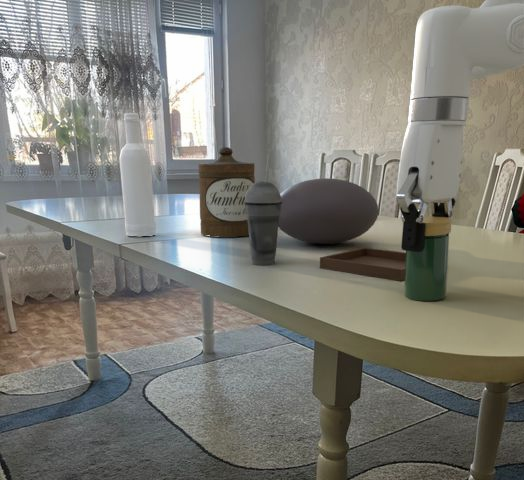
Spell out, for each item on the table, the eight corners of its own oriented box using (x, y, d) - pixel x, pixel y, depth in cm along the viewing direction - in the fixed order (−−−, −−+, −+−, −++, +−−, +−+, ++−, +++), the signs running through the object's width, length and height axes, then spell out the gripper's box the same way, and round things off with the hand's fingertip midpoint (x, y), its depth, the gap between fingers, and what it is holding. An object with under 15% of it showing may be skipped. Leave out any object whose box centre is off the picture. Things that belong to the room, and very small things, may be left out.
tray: (441, 267, 102) (442, 257, 101) (401, 281, 92) (402, 269, 91) (363, 257, 113) (364, 247, 112) (319, 267, 103) (319, 257, 102)
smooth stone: (377, 253, 117) (382, 181, 112) (263, 250, 121) (263, 180, 116) (375, 236, 140) (379, 176, 135) (280, 234, 144) (280, 176, 139)
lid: (418, 228, 83) (419, 216, 82) (459, 230, 78) (460, 217, 78) (395, 234, 79) (396, 222, 78) (437, 237, 74) (437, 223, 74)
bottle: (122, 237, 141) (110, 112, 131) (130, 233, 149) (119, 114, 139) (152, 237, 141) (143, 112, 131) (159, 233, 149) (150, 114, 138)
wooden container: (211, 239, 137) (207, 146, 130) (194, 232, 150) (189, 147, 143) (264, 235, 143) (264, 146, 135) (243, 229, 156) (242, 147, 148)
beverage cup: (252, 258, 112) (251, 156, 105) (286, 260, 110) (287, 155, 103) (239, 265, 105) (237, 156, 99) (275, 267, 103) (275, 156, 96)
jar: (453, 293, 82) (456, 222, 78) (434, 302, 78) (437, 228, 74) (416, 288, 86) (418, 221, 82) (397, 297, 82) (398, 227, 78)
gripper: (442, 118, 81) (430, 238, 88) (378, 113, 70) (369, 252, 76) (492, 116, 76) (475, 243, 83) (431, 110, 65) (417, 259, 71)
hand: (424, 246), depth 79 cm, fingers closed on lid, 6 cm apart
